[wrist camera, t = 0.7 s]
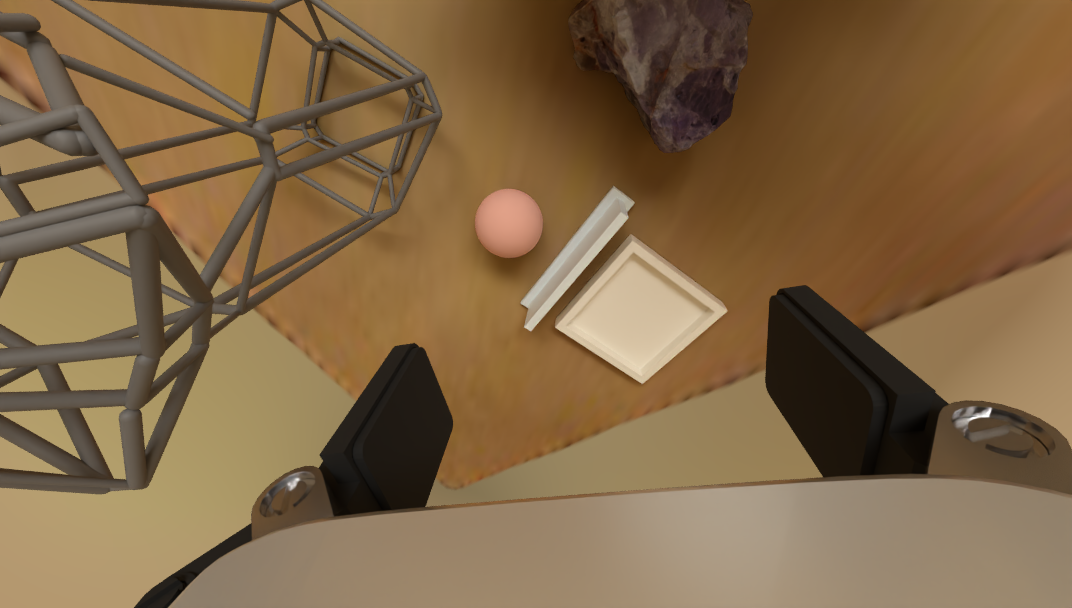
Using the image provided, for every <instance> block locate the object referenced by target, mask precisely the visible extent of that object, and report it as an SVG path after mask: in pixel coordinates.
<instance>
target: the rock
mask: <svg viewBox="0 0 1072 608" xmlns="http://www.w3.org/2000/svg"><path fill="white" fill-rule="evenodd" d="M752 17H753V13H752V10H751V8H750V4H749V3H746V2H744V0H583V1H582V2H580V3H579V4H578V5H577V6H576V7H575V8H574V10H573V11H572V13H571V15H570V17H569V30H570V33H571V36H572V39H573V43H574V46H575V52H574V59H575V60H576V64H577V66H578V67H579V68H580V69H582V70H601V71H606V72H613V73H614V74H615V76H616V77H617V81H618V82H620V83H621V84H622V85H623V87H624V88H625V94H626V96H627V99H628V100H629V101H630V102H631V103H632V104H633V105H634V106H635V107H636V108H637V110H638V112H639V114H640V116H641V118H640V119H641V121H642V123H643V125H644V127H645V128H646V129H647V130H648V131H649V133H650V135H651V137H652V139H653V140H654V144H656V145H657V146H658V148H659V149H660V150H661V151H663V152H664V153H673V152H681V151H684V150H687V149H689V148H690V147H691V146H692V144H694V143H696V142H697V141H699V140H701V139H703V138H704V137H706V136H708V135H709V134H710V133H712V132H713V131H714V130H716V129H717V128H718V127H719V126H720V125H721V124H722V123H723V122H725V121H726V120H727V119H728V118H729V117H730V115H731V111H732V106H733V98H734V94H735V92H736V90H737V87H738V78H739V74H740V71H741V69H742V68H743V67H744V66H745V65H746V63H747V55H748V40H747V32H748V26H749V24H750V22H751V19H752Z"/></svg>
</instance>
